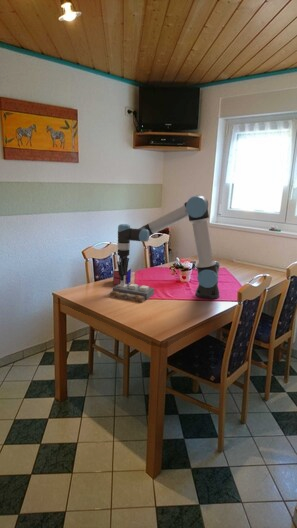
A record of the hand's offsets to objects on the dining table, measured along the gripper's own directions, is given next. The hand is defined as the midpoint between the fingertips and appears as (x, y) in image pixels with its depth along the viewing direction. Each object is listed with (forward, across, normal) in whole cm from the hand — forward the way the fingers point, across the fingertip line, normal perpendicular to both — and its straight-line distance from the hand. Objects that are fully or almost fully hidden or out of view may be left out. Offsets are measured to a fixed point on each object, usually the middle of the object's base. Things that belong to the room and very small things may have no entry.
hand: (122, 284), depth 219 cm
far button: (+4, 0, 0) cm, 4 cm away
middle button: (+3, 0, +8) cm, 8 cm away
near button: (+3, 0, +15) cm, 15 cm away
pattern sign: (+5, +9, +8) cm, 13 cm away
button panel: (+5, 0, +8) cm, 9 cm away
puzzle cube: (+5, -17, -9) cm, 20 cm away
